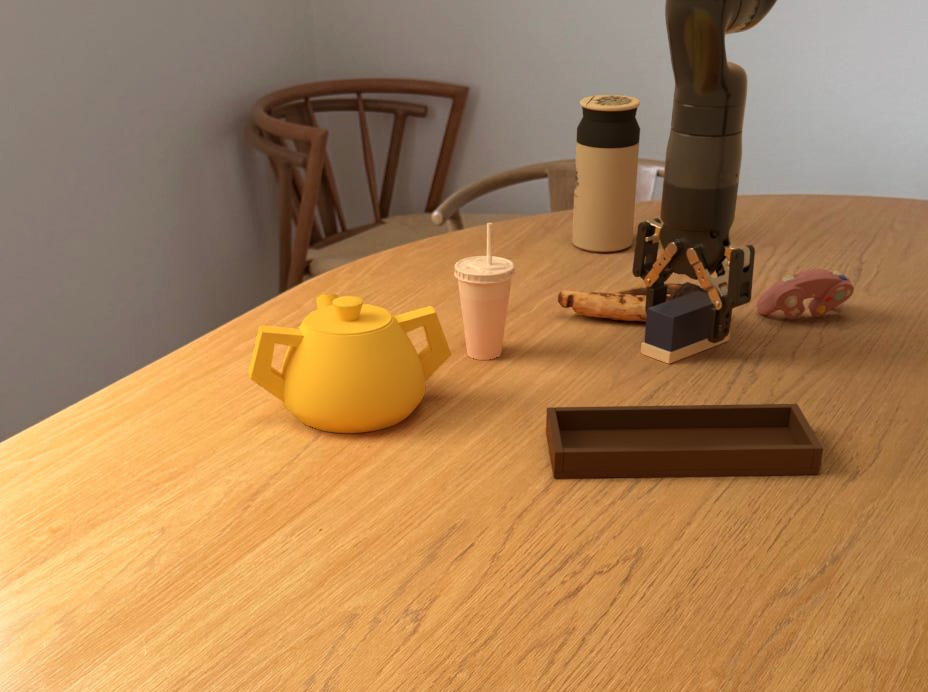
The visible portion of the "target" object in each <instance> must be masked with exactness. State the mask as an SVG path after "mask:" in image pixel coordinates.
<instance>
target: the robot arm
mask: <svg viewBox="0 0 928 692" xmlns="http://www.w3.org/2000/svg"><path fill="white" fill-rule="evenodd" d="M777 1H778V0H665V4H664V5H665V7H664V17H665V26H666V33H667V34H666V35H667V40H668V48H669V56H670V63H671V69H672V73H673V80H674V90H673V91H674V92H673V99H672V111H671V121H670V122H671V123H670V129H669V135H668V139H667V140H668V141H667V144H666V145H667V146H666V151H665V159H664V160H665V161H664V169H663V182H662V193H661V205H660V214H659V215H660V218H659V217H656V218H651V219H648V220H645V221H642V222H639V223H638V224H637V231H636V239H635V246H634V247H635V248H634V254H633V262H632V270H631V271H632V275H633V276H634V277H635V278H640V279H642V280H643V282H644V286H647V293H646V304H645V311H646V314H647V308H650V307H653V306H656V305H658V304H661V303H664V302H666V298H667V296H668V294H667V287H668V285H665V284H666V282H667V281H668V280H669V279H670V277H671V276H672V275H673V274H677V275H685V276H686V277H688V278H689V279H691V280H695V281H698V282H699V286H700V287H701V288H702V289H703V290H704V291H706V292H707V293H708V296H709V298H710V300H711V303H712V305H713V307H714V308H711V312H710V321H709V329H708V338H707V340H708V341H709V342H712V343H717V342H720V341H722V340H724V338H725V337H726V336H728V334H729V331H730V332H731V322H732V315H733V309H735V308H738V307H741V306H744V305H746V304H749V303H750V302H751V300H752V292H753V279H754V270H755V269H754V268H755V256H756V255H755V254H756V248H755V247H754V246H753V245H752V244H747V245H744V246H739V245H734V244H731V239H730V231H731V228H732V226H733V224H734V222H735V216H736V208H737V199H738V191H739V183H740V175H741V167H742V157H743V129H744V122H745V115H746V106H747V97H748V82H749V81H748V75H747V72H746V70H745V68H743V67H742V66H741V65H739V64H737V63H735V62H732V61H728V57H727V50H726V35H732V34H737V33H742V32H746V31H749V30H751V29H752V28H754V27H756V26H757V25H758V24H759V23H761V22H762V21H763V19H765V18H766V16H767V15H768V14H769V13H770V12H771V11H772V9H773V8H774V7H775V5H776V3H777ZM660 244H661V247H662V249H663V252H662V253H661V254H660V256H659V257H658V252H659V246H660ZM726 259H727V261H725V260H726ZM714 273H716V277H712V275H714Z"/></svg>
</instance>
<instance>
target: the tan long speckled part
mask: <svg viewBox="0 0 928 692" xmlns="http://www.w3.org/2000/svg"><path fill="white" fill-rule="evenodd" d="M664 284H665V285H668V287H667V298H666V302H667V301H670V300H673V299H676V298H679V297H681V296H684V295H687V294H690V293H693V292H696V291H701V292H705V293H707V292H706V291H704V290H703V289H702V287H701V285H698V284H695V283H692V282H689V281H686V282H683V283H664ZM646 293H647V286H646V285H642V286H636V287H630V288H627V289H623V290H620V291H616V292H611V293H610V292H609V293H607V292H602V291H598V292H597V291H591V292H588V291H576V290H568V289H567V290H566V289H565V290H560V291H559V293H558V295H557V303H558V304H559V306H561V308H564V309H569V308H572V310H573V312H574V313H576V314H579V315H582V316H584V317H590V318H591V317H592V318H606V319H610V320H612V321H624V322H641V323H642V322H646V315H647V314H646V311H645V304H646Z"/></svg>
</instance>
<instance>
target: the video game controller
mask: <svg viewBox="0 0 928 692" xmlns="http://www.w3.org/2000/svg"><path fill="white" fill-rule="evenodd" d="M854 291H855V287H854V285H853V283H852V281H851V280H850V278H849V277H847V275H845V274H843V272H842V270H841V269H835V270H834V271H833V272H832V271H829V270H827V269H822V268H808V269H805V270H803V271H800V272H798V273H795V274H792V273H789V274H785V275H784V276H783V277H782V278H780V279H778V280H776V281H775V282H774V283H773V284H772V285H771V286H770V287H769V288H768V289H767V290H765V291H763V292H762V293H761V294H760V295H759V297H758V299H757V302H756V310H757V312H758V313H759V315H762V316H769V315H771V314H772V313H775V312H777V311H782V312H783V314H784V316H785V318H786V319H787V320H790V321H792V320H795V319H797V318H800V317H801V316H802V315H803V314H804V313H805V311H806V307H805V305H804V300H808V299H811V300H810V301H809V303H808V305H807V309H808V310H809V313H810V314H811V316H812V317H814V318H820V317H823V316H824V315H826V314H827V313H828V312H829V311H831V310H832V309H834V308H837V307H839V306H840V305H842V304H844V303H845V302H847V301H848V300H849V299H850V298H851V297H852V296H853V294H854Z"/></svg>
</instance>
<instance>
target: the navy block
mask: <svg viewBox="0 0 928 692" xmlns="http://www.w3.org/2000/svg"><path fill="white" fill-rule="evenodd" d="M711 308H714V307H713V305H712V303H711V300H710V298H709V296H708V293H705V292H701V291H696V292H693V293H690V294H687V295H684V296H681V297H679V298H676V299H673V300H670V301H667V302H664V303H661V304H658V305H656V306H653V307H650V308H647V315H646V321H645V329H644V339H643V342H642V343H641V347H640V354H641V355H643V356H646V357H649V358H652V359H654V360H657V361H660V362H662V363H665V364H668V365H670V364H672V363H675V362H678V361H680V360H683V359H686V358H688V357H690V356H694V355H696V354H698V353H701V352H704V351H706V350H708V349H711V348H714V347H716V346H719V345H722V344H724V343H727V342H729V341H730V337H731V336H730V335H731V330H730V331H729V334H728V336H726V337H725V338H724V340H722V341H720V342H717V343H712V342H709V341H708V340H707V338H708V329H709V321H710V312H711Z"/></svg>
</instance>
